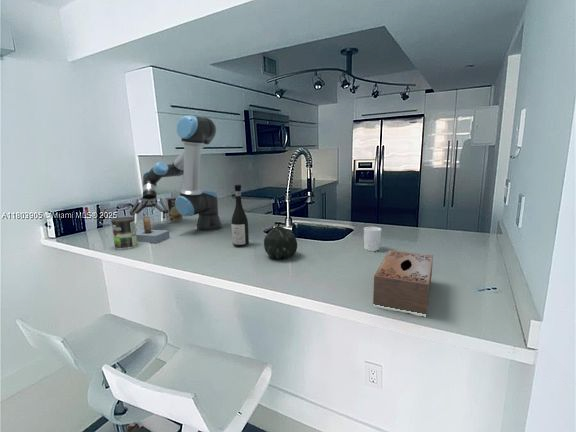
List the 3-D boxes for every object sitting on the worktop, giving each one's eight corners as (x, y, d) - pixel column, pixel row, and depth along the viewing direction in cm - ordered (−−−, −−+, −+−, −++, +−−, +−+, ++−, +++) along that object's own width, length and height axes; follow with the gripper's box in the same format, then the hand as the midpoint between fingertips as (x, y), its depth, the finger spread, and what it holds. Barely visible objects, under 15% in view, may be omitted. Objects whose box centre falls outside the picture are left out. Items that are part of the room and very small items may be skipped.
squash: (295, 237, 145) (274, 216, 139) (308, 247, 132) (286, 224, 126) (274, 259, 144) (252, 239, 138) (285, 271, 130) (262, 249, 124)
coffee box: (169, 223, 203) (167, 199, 200) (166, 221, 208) (164, 198, 205) (183, 221, 209) (181, 197, 206) (180, 219, 214) (177, 196, 211)
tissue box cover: (426, 318, 85) (429, 284, 83) (372, 307, 91) (374, 275, 89) (430, 282, 107) (433, 255, 105) (387, 276, 113) (389, 250, 111)
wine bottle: (244, 248, 148) (241, 186, 142) (229, 246, 151) (226, 185, 145) (251, 243, 156) (249, 184, 150) (237, 242, 158) (234, 183, 152)
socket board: (169, 237, 169) (169, 230, 168) (156, 243, 159) (156, 236, 158) (141, 236, 173) (140, 229, 172) (127, 241, 163) (126, 234, 162)
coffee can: (123, 250, 148) (119, 222, 145) (110, 248, 152) (106, 220, 150) (142, 245, 157) (139, 217, 154) (129, 242, 161) (125, 216, 158)
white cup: (365, 246, 148) (366, 225, 146) (382, 248, 144) (383, 227, 142) (360, 250, 142) (361, 229, 140) (378, 253, 138) (379, 231, 136)
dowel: (153, 239, 167) (150, 217, 165) (149, 240, 164) (146, 218, 162) (148, 238, 168) (145, 217, 165) (144, 240, 165) (141, 218, 162)
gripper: (172, 196, 189) (173, 225, 178) (127, 198, 182) (126, 229, 171) (171, 188, 183) (172, 218, 172) (124, 190, 176) (122, 221, 165)
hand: (149, 223), depth 172 cm, fingers open, 13 cm apart
